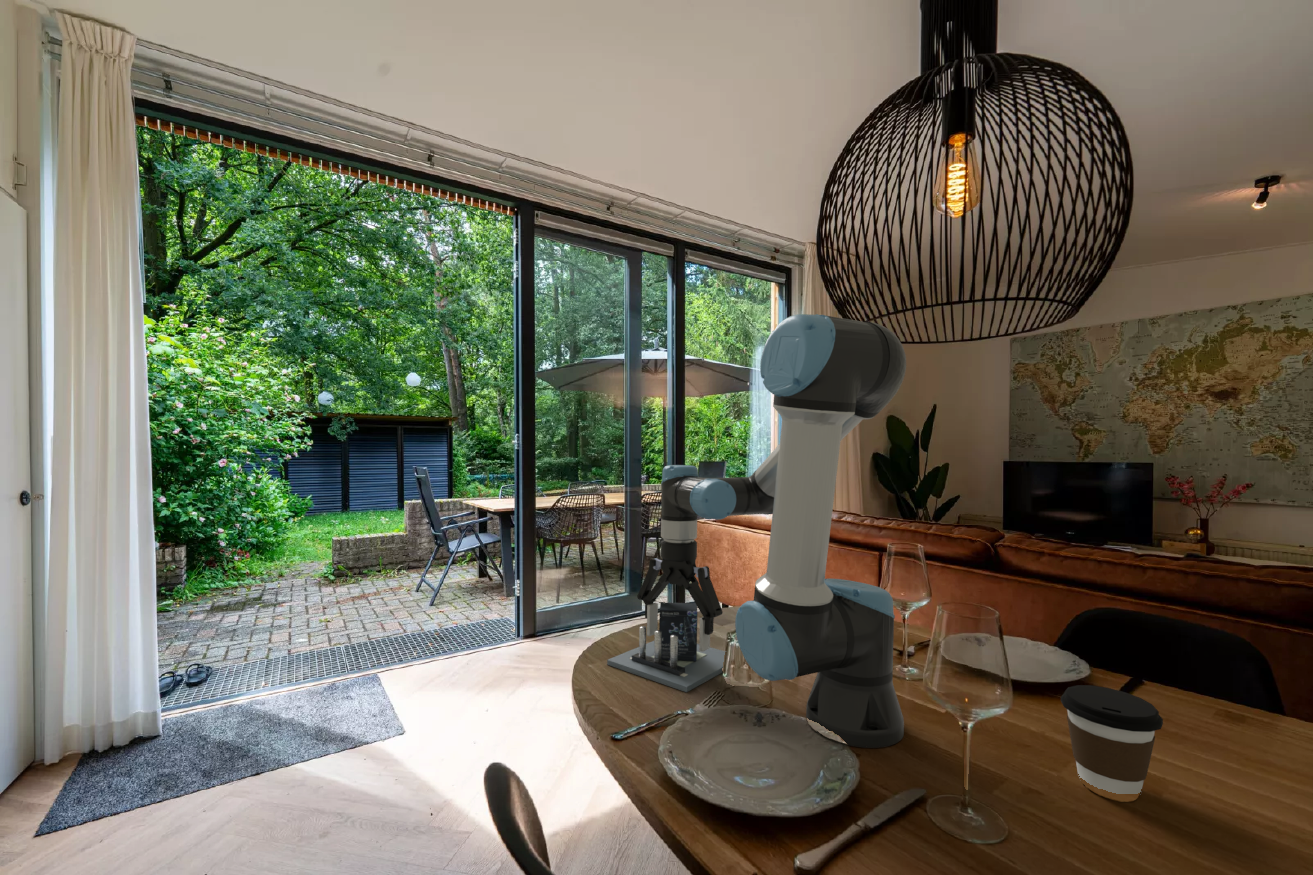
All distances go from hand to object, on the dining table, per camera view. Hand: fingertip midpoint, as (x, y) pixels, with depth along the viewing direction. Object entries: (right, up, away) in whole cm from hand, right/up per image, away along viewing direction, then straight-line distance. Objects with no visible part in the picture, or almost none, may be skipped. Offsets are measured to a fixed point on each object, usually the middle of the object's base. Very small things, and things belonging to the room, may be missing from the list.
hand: (677, 642), depth 122 cm
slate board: (0, -4, 0) cm, 4 cm away
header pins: (-4, -3, -5) cm, 7 cm away
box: (0, -3, 0) cm, 3 cm away
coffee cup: (+57, -5, -43) cm, 71 cm away
